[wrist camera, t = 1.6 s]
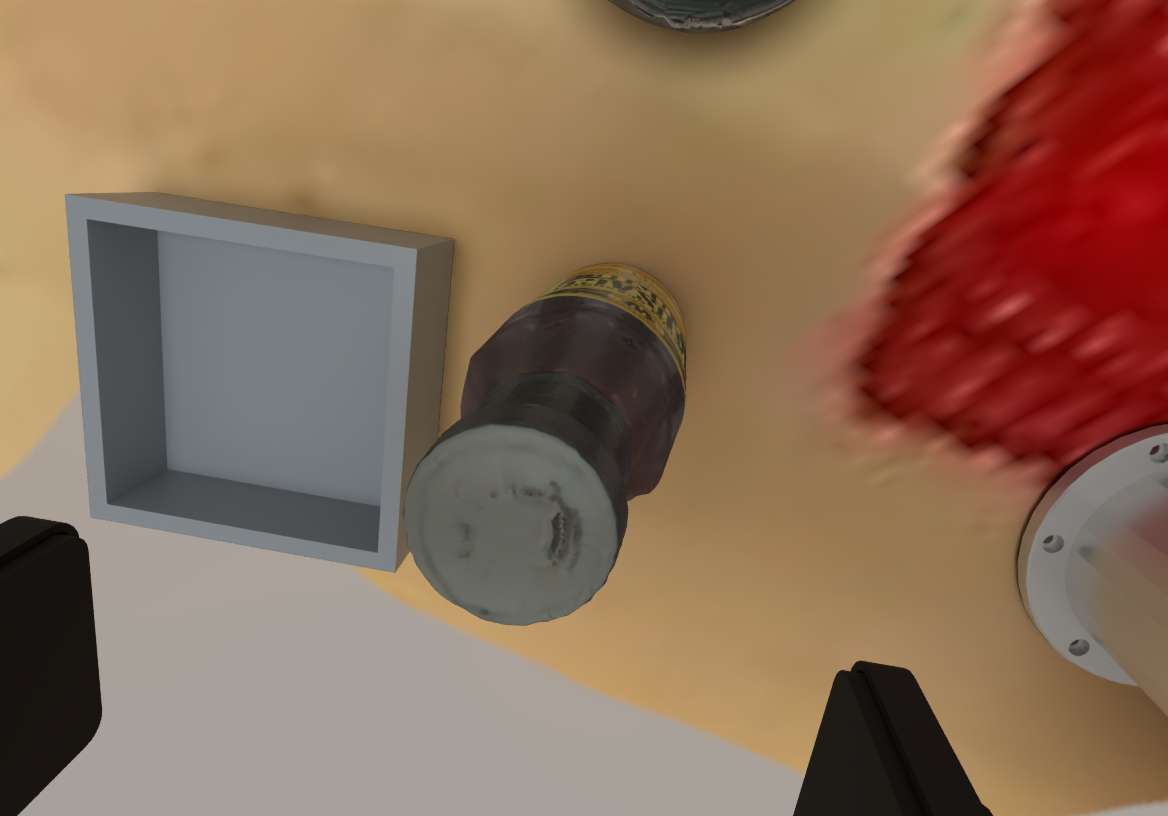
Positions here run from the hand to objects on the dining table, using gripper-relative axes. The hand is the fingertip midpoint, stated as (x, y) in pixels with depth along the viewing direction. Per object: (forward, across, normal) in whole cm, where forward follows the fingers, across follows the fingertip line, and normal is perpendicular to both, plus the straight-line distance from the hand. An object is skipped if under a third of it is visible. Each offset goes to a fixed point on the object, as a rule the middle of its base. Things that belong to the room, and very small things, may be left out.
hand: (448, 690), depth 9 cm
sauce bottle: (+24, -1, 0) cm, 24 cm away
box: (+24, +13, +4) cm, 28 cm away
